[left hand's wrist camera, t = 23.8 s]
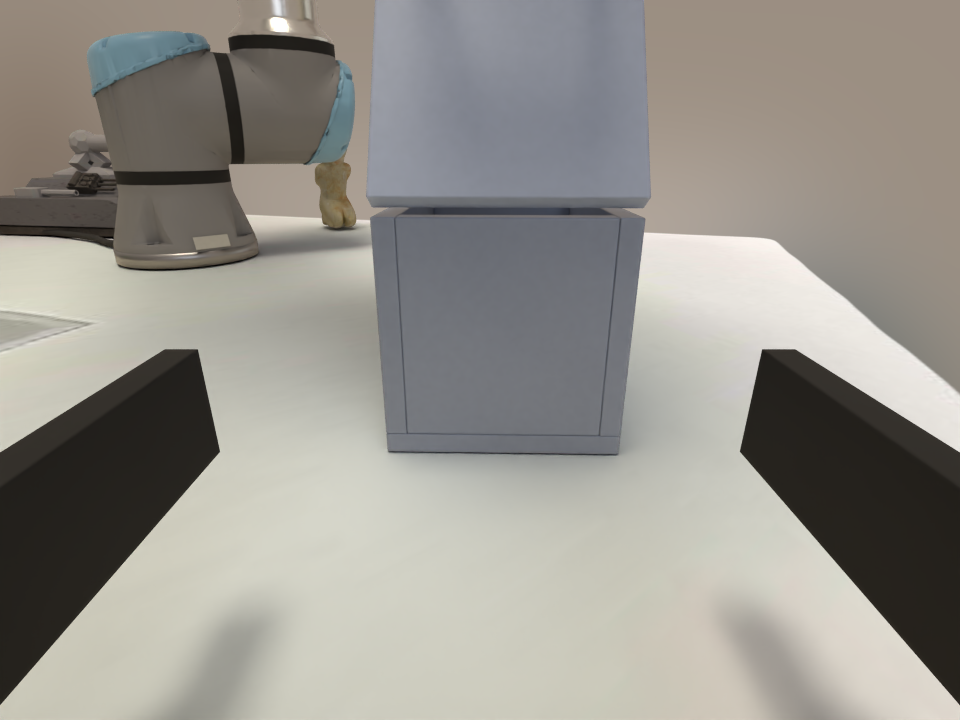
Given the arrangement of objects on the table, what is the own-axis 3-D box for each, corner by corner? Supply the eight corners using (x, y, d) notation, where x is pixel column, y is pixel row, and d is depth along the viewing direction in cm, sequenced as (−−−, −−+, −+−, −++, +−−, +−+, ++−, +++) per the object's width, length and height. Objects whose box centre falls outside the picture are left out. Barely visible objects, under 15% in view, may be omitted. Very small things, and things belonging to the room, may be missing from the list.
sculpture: (327, 230, 83) (316, 128, 78) (315, 225, 89) (304, 130, 83) (362, 228, 86) (354, 129, 80) (348, 223, 92) (339, 131, 86)
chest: (426, 342, 35) (419, 190, 31) (572, 343, 35) (583, 191, 31) (387, 451, 22) (369, 216, 19) (618, 454, 22) (646, 218, 18)
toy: (-18, 233, 80) (-55, 127, 74) (93, 218, 98) (69, 132, 93) (126, 238, 76) (98, 126, 70) (213, 221, 94) (196, 131, 89)
